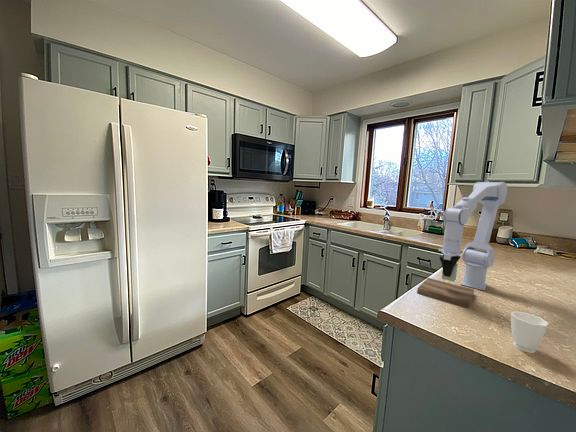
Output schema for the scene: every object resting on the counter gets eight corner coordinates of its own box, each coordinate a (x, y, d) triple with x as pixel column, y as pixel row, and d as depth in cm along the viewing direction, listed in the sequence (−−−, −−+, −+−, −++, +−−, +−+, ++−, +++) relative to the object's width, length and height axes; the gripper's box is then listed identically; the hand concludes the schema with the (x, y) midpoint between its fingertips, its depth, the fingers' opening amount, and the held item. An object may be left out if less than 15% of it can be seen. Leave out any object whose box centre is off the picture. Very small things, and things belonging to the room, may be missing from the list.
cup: (507, 348, 62) (512, 318, 61) (502, 330, 70) (507, 304, 69) (547, 361, 57) (553, 329, 56) (536, 340, 66) (542, 312, 65)
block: (443, 276, 95) (445, 261, 95) (455, 279, 93) (457, 264, 92) (441, 278, 93) (443, 263, 92) (453, 281, 90) (456, 266, 89)
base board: (427, 282, 105) (427, 277, 105) (473, 294, 94) (474, 289, 94) (417, 292, 93) (417, 287, 93) (468, 308, 82) (469, 302, 82)
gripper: (443, 235, 99) (439, 267, 101) (436, 240, 88) (431, 276, 90) (465, 238, 94) (460, 272, 96) (459, 244, 84) (454, 281, 85)
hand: (447, 274), depth 93 cm, fingers closed on block, 4 cm apart
